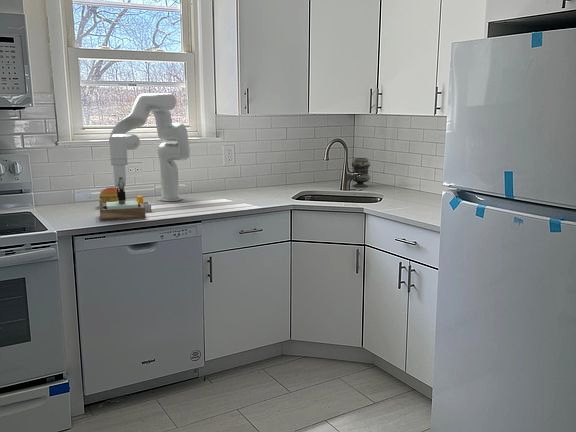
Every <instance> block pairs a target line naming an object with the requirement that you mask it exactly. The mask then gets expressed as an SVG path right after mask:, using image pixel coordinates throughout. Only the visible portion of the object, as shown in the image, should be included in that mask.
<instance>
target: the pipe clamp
mask: <svg viewBox="0 0 576 432" xmlns="http://www.w3.org/2000/svg"><path fill="white" fill-rule="evenodd" d="M125 201H127V199H126V200H125ZM135 201H137V203H143V202H144V196H143V195H137V196H136V199H135ZM143 205H144V204H143Z"/></svg>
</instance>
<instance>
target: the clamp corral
mask: <svg viewBox="0 0 576 432" xmlns="http://www.w3.org/2000/svg"><path fill="white" fill-rule="evenodd" d="M143 204H144V207H145V213H146V212H152V204H151V202H150V201H143Z"/></svg>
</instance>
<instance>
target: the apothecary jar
mask: <svg viewBox="0 0 576 432" xmlns="http://www.w3.org/2000/svg"><path fill="white" fill-rule="evenodd" d="M351 166H352V168H353V171H352V172H356V173H362V175H360V176H358V177H356V178H355V179H353V180H352V181H353V182H355V184H352V187H353V186H356V187H355V188H368V187H369V185H368V184H366V183H367V182H369V181H370V180H371V176H370V174H369V167H371V163H370V162H369V158H367V157H354V159H353V162H351Z"/></svg>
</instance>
